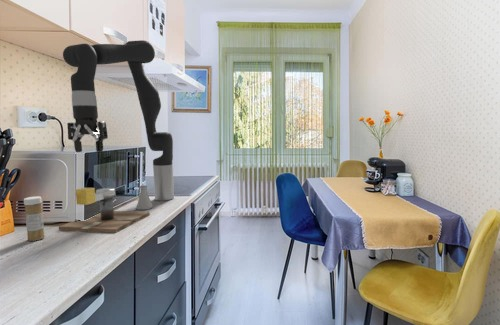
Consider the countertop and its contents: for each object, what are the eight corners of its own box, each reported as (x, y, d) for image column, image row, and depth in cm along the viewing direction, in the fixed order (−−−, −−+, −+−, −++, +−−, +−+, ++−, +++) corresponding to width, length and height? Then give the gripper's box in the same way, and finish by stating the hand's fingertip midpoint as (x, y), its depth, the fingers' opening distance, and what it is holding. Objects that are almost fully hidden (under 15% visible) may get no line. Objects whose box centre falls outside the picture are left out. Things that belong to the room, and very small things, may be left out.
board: (101, 213, 127) (101, 209, 127) (149, 214, 123) (149, 211, 123) (56, 230, 104) (56, 226, 104) (114, 233, 100) (113, 229, 100)
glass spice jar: (107, 216, 117) (106, 195, 117) (117, 216, 117) (116, 196, 116) (96, 220, 111) (95, 199, 110) (107, 221, 110) (106, 199, 110)
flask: (155, 206, 137) (154, 184, 136) (148, 210, 130) (147, 187, 129) (140, 206, 138) (139, 184, 137) (132, 210, 131) (131, 187, 130)
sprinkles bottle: (34, 236, 99) (30, 196, 98) (48, 236, 99) (44, 195, 97) (23, 241, 94) (19, 199, 93) (38, 241, 94) (34, 198, 93)
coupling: (104, 195, 117) (103, 182, 116) (119, 195, 116) (118, 182, 115) (73, 204, 102) (72, 189, 102) (90, 204, 101) (89, 190, 100)
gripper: (110, 104, 107) (113, 150, 109) (76, 106, 110) (80, 151, 112) (94, 103, 99) (98, 152, 101) (58, 105, 103) (63, 153, 105)
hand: (89, 151), depth 107 cm, fingers open, 8 cm apart
